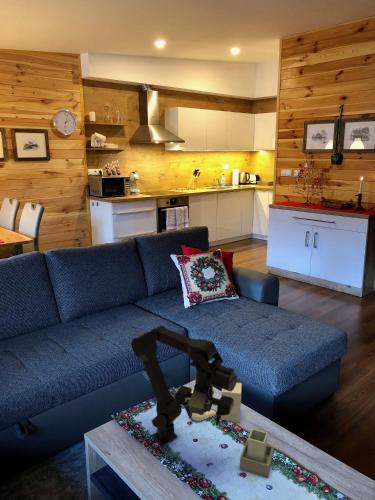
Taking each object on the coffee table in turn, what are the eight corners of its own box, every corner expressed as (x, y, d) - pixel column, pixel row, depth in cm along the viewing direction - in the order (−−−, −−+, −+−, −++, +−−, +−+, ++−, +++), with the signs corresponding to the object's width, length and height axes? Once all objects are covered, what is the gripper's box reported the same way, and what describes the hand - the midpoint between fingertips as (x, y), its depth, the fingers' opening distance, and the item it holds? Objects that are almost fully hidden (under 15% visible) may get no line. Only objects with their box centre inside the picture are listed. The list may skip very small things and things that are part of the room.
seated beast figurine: (216, 415, 155) (217, 387, 152) (204, 427, 149) (204, 399, 146) (196, 406, 161) (196, 379, 158) (183, 417, 154) (183, 390, 151)
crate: (239, 469, 129) (240, 457, 128) (246, 450, 137) (246, 439, 136) (267, 477, 126) (268, 465, 125) (272, 457, 134) (273, 446, 133)
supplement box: (239, 423, 151) (240, 393, 148) (220, 420, 152) (220, 391, 149) (240, 411, 158) (242, 382, 155) (222, 408, 159) (223, 380, 156)
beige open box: (246, 464, 130) (248, 438, 128) (250, 453, 135) (251, 428, 132) (262, 469, 128) (264, 443, 126) (266, 458, 133) (267, 432, 130)
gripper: (167, 387, 124) (167, 430, 128) (225, 401, 117) (223, 446, 121) (181, 369, 134) (181, 409, 138) (235, 381, 127) (233, 423, 131)
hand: (203, 421), depth 132 cm, fingers open, 9 cm apart
